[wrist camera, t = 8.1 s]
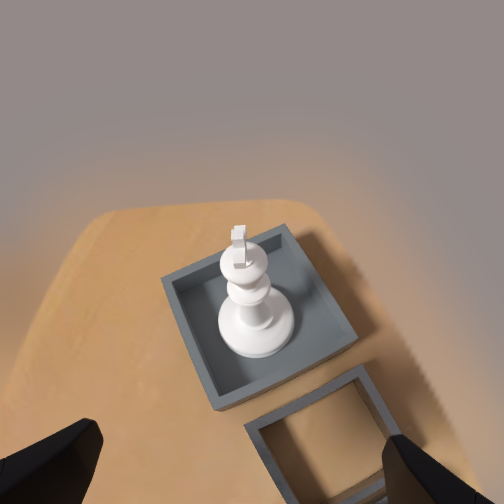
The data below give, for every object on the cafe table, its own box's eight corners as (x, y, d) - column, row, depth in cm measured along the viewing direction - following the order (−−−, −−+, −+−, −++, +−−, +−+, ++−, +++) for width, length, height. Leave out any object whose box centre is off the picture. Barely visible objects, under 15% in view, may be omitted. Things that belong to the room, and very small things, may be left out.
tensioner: (444, 528, 10) (472, 541, 7) (346, 587, 9) (358, 613, 6) (355, 367, 18) (373, 354, 15) (246, 424, 17) (238, 425, 13)
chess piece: (292, 285, 21) (299, 181, 12) (296, 356, 18) (312, 294, 10) (220, 288, 21) (180, 189, 13) (217, 358, 19) (163, 299, 10)
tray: (349, 347, 19) (358, 337, 17) (221, 411, 17) (213, 410, 15) (284, 242, 23) (284, 223, 21) (171, 293, 22) (160, 278, 20)
